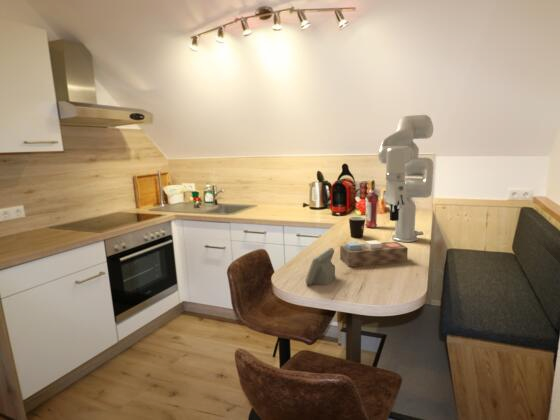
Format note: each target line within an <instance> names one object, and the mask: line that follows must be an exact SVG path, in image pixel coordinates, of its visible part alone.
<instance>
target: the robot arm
mask: <svg viewBox="0 0 560 420" xmlns="http://www.w3.org/2000/svg"><path fill="white" fill-rule="evenodd" d="M433 133H434V124H433V121H432V119H431V117H430V116H428V115H427V114H418V115H417V114H416V115H415V114H413V115H412V114H411V115H405V116H402V117H401V118H400V119H399V121H398V123H397V125H396V130H395V132H394V133H392V134H390V135H388V136H387V137H385V138H384V139H383V140H382V142H381V144H380V147H379V150H378V156H377V157H378V161H379V162H380V163H381V164H386V166H385V168H386V169H385V182H386V184H385V193H384V195H385V196H384V198H385V199H384V200H385V202H386V203H387V205H388V206H389V221H391V222H395V226H394V227H395V228H394V234H393V235H392V236H391V239H392V240H393V241H395V242H399V243H400V242H401V243H413V242H417V241H418V239H419V238H418V236H423V235H424V231H419V230H415V229H416V209H417V207H416V204H415V202H414V201H413V199H412V198H420V199H421V198H422V199H424V198H425V199H427V198H429V197H430V196H431V195H432V192H433V180H434V162H433V159H431V158H430V157H419V152H420V151H419V150H420V148H419V147H418V145H417V144H416V143H415V142H414V140H420V139H423V140H424V139H425V140H426V139H430V138H431V137H432V136H433ZM410 177H411V178H410ZM414 177H416V178H414ZM419 177H420V178H419Z"/></svg>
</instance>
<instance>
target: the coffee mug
mask: <svg viewBox="0 0 560 420" xmlns="http://www.w3.org/2000/svg"><path fill="white" fill-rule="evenodd" d="M348 223H349V233H350V238H354V239H361V238H364V233H365V232H364V231H365V226H366V225H365V224H366V217H362V216H351V217H348Z"/></svg>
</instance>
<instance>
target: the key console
mask: <svg viewBox="0 0 560 420" xmlns="http://www.w3.org/2000/svg"><path fill="white" fill-rule="evenodd" d="M381 243H382V248H378V249H369V248H367V247H366V246H365V245H366V243H360V244H361V250H352V251H349V250H348V249H346V244H345V245H340V247H339V251H340V253H339V259H340V260H341V262H343V263H344V264H345V265H346V266H347V267H357V266H369V265H372V266H373V265H382V264H394V263H395V264H396V263H406V262H408V249H409V247H407V246H405V245H403V244H401V243H400V242H399V241H387V242H381ZM391 243H396V244H398V245H400V246H401V247H392V248H390V247H388V246H386V245H385V244H391Z"/></svg>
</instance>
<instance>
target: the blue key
mask: <svg viewBox="0 0 560 420" xmlns="http://www.w3.org/2000/svg"><path fill="white" fill-rule="evenodd" d="M361 244H362V243H359V242H358V241H351V242H350V241H348V242H345V245H346V249H348V250H349V251H352V250H361Z"/></svg>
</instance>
